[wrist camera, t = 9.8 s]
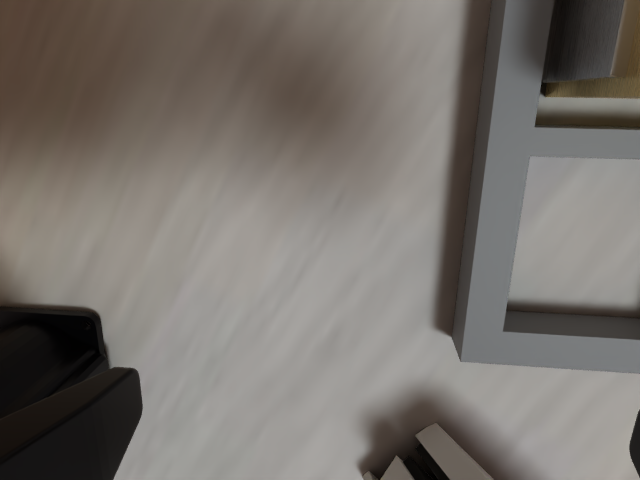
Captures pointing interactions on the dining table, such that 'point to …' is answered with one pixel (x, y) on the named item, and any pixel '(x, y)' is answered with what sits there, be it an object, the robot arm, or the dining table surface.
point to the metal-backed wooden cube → (593, 49)
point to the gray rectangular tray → (506, 204)
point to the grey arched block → (435, 460)
